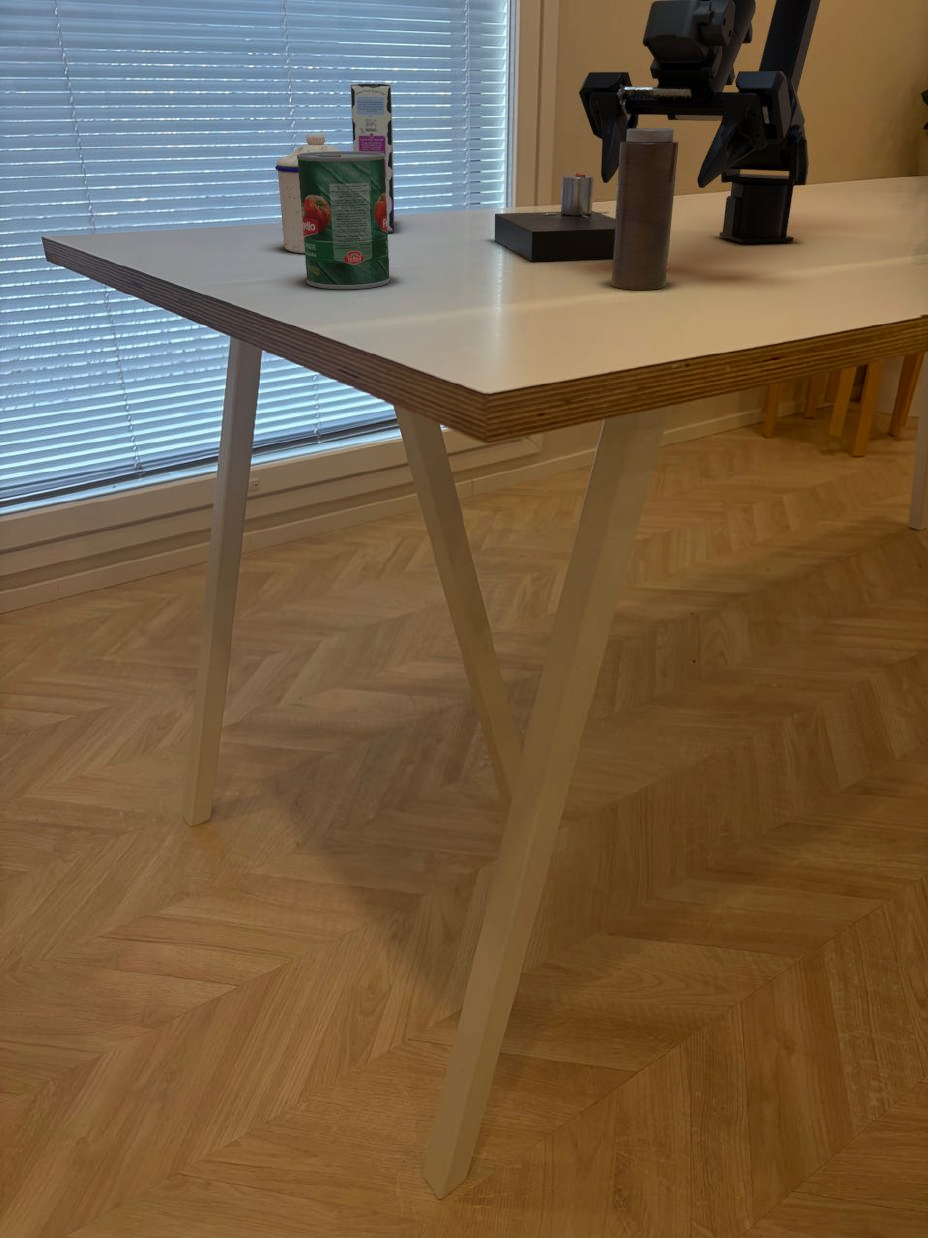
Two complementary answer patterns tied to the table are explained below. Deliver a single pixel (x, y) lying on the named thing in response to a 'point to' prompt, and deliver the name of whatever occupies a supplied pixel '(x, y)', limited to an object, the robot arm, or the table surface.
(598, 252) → the stove
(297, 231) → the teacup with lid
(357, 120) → the candy bar box
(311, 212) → the canned tomato
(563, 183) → the knob
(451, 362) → the table surface
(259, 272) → the table surface
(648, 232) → the salt mill
